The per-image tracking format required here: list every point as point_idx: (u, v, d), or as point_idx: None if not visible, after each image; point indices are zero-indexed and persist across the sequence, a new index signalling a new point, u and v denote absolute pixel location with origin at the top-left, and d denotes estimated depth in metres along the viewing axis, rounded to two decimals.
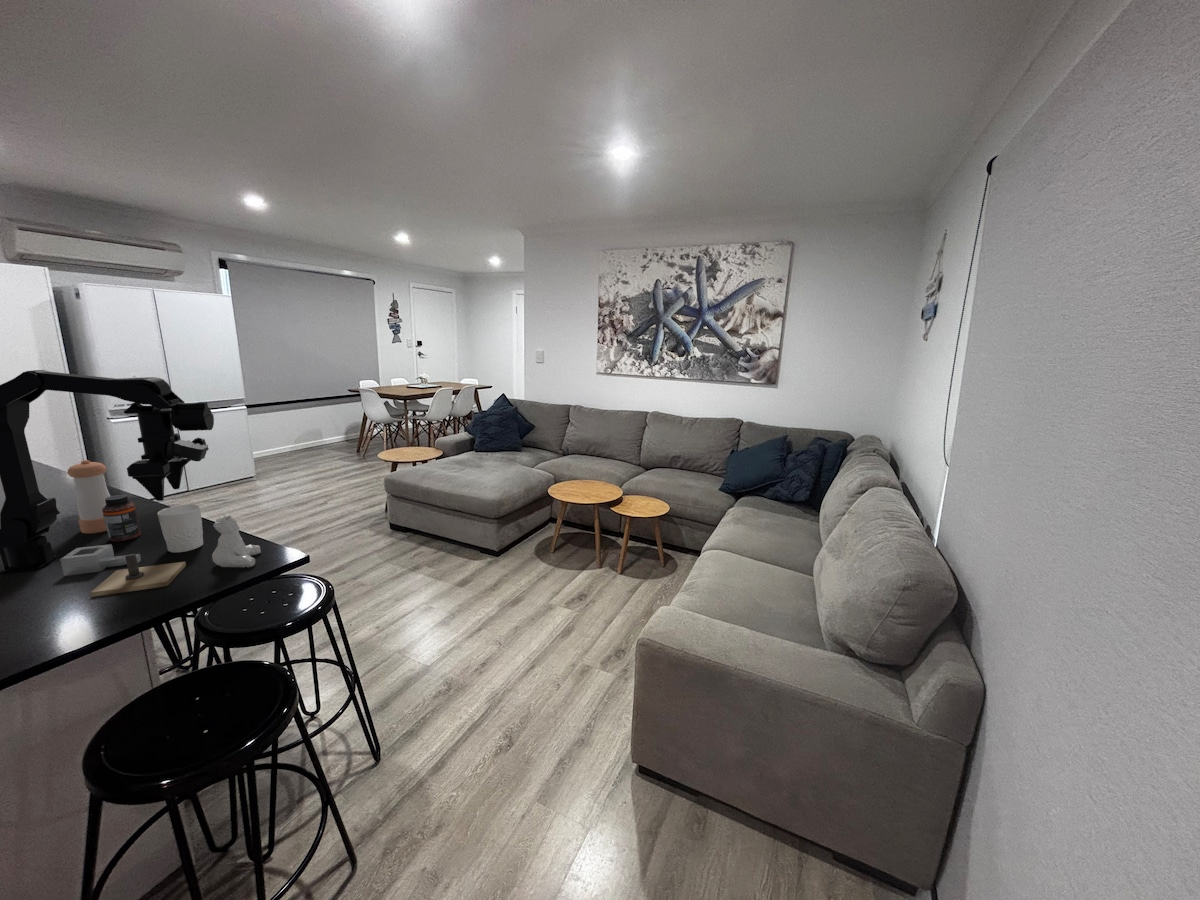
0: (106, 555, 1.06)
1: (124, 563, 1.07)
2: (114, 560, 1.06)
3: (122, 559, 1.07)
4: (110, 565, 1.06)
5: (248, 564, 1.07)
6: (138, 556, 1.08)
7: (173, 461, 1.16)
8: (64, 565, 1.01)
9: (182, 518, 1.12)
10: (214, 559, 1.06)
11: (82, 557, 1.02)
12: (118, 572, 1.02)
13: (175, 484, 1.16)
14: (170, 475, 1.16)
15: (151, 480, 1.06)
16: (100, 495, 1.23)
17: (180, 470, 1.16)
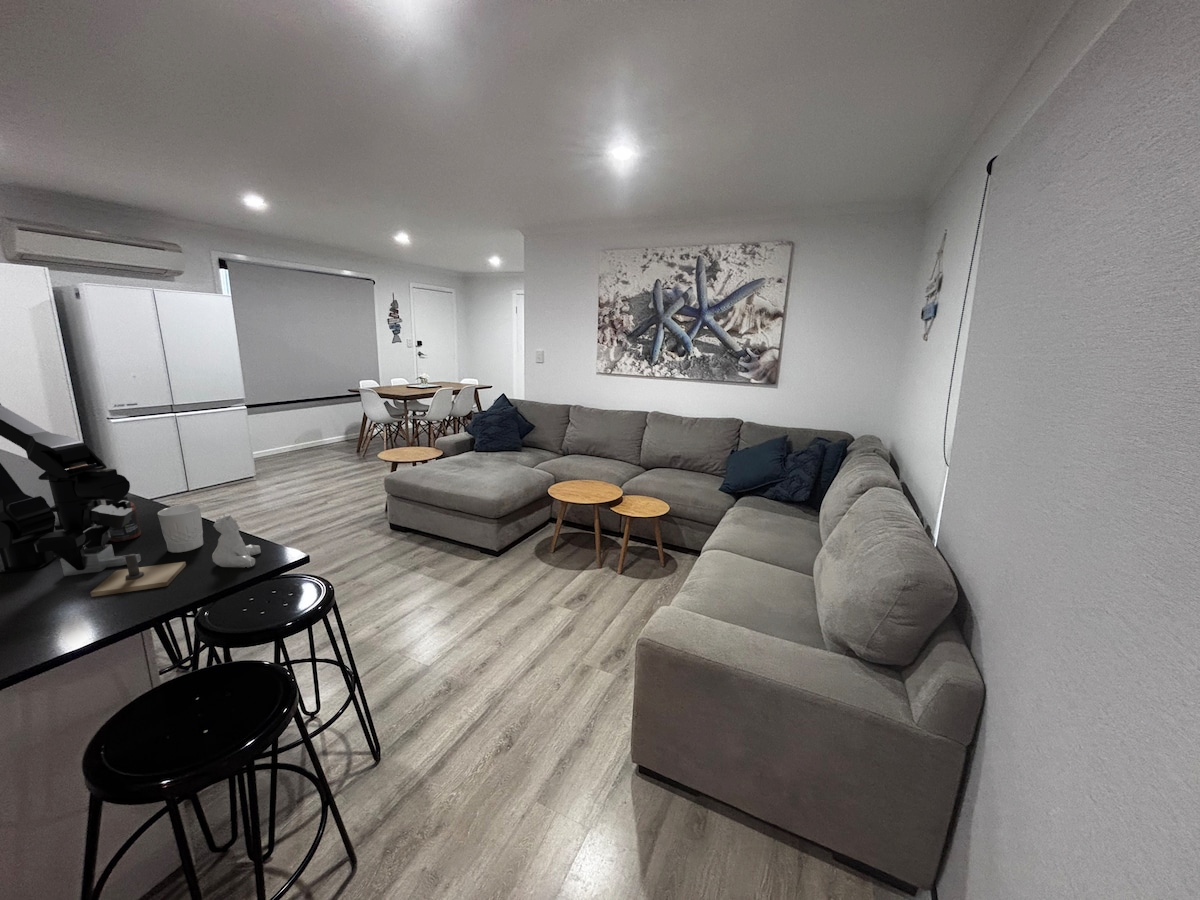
0: (106, 555, 1.06)
1: (124, 563, 1.07)
2: (114, 560, 1.06)
3: (123, 559, 1.07)
4: (110, 565, 1.06)
5: (248, 564, 1.07)
6: (138, 556, 1.08)
7: (93, 528, 1.07)
8: (64, 565, 1.01)
9: (182, 518, 1.12)
10: (214, 559, 1.06)
11: None
12: (118, 572, 1.02)
13: None
14: (89, 543, 1.07)
15: (69, 550, 1.00)
16: None
17: (101, 537, 1.08)
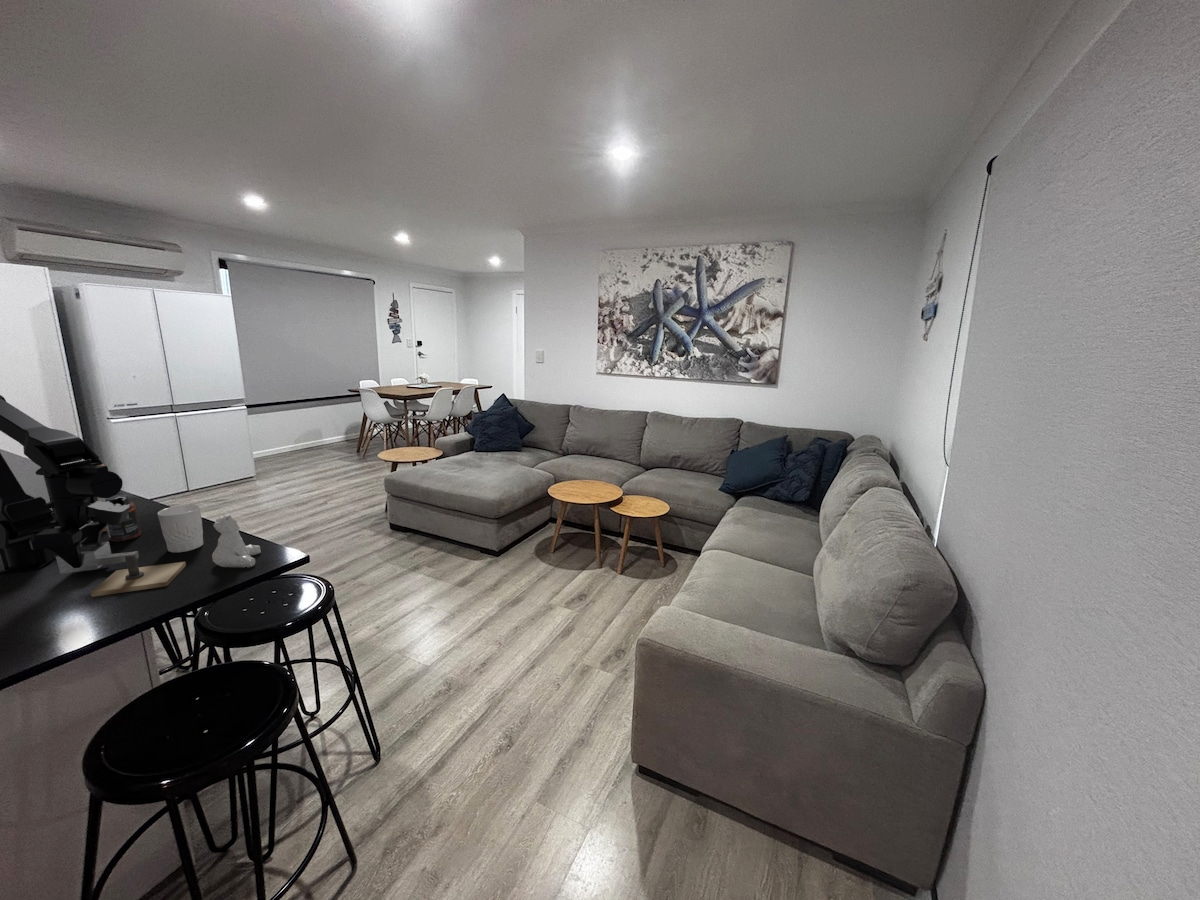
0: (103, 552, 1.04)
1: (121, 560, 1.05)
2: (111, 557, 1.04)
3: (120, 556, 1.05)
4: (107, 563, 1.04)
5: (248, 564, 1.07)
6: (136, 553, 1.06)
7: (89, 525, 1.05)
8: (60, 563, 0.99)
9: (182, 518, 1.12)
10: (214, 559, 1.06)
11: None
12: (118, 572, 1.02)
13: None
14: (86, 541, 1.05)
15: (65, 547, 0.98)
16: None
17: (97, 534, 1.05)
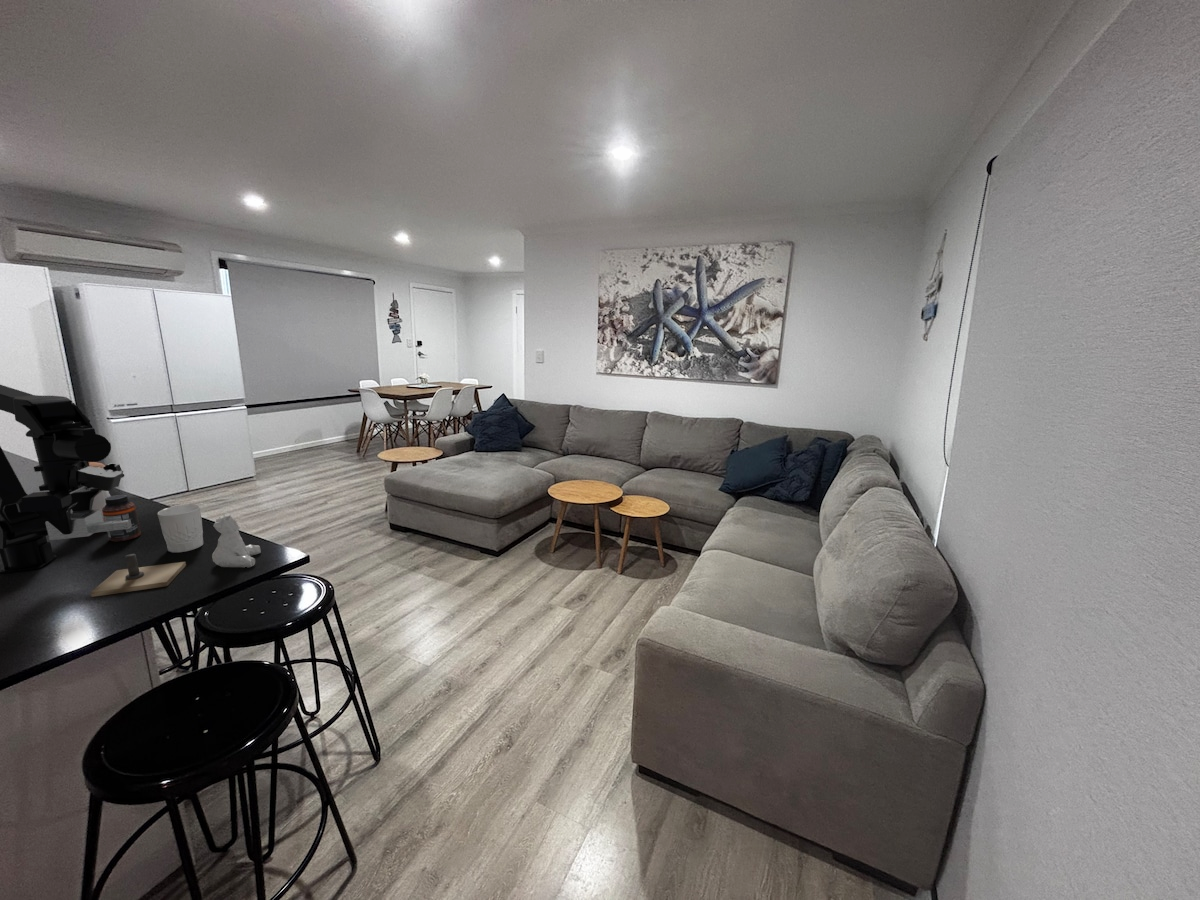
0: (94, 520, 1.01)
1: (114, 528, 1.01)
2: (103, 525, 1.00)
3: (112, 524, 1.01)
4: (99, 530, 1.00)
5: (248, 564, 1.07)
6: (128, 522, 1.03)
7: (80, 492, 1.01)
8: (49, 529, 0.96)
9: (182, 518, 1.12)
10: (214, 559, 1.06)
11: None
12: (118, 572, 1.02)
13: None
14: (77, 508, 1.01)
15: (54, 512, 0.94)
16: (100, 495, 1.23)
17: (89, 502, 1.02)
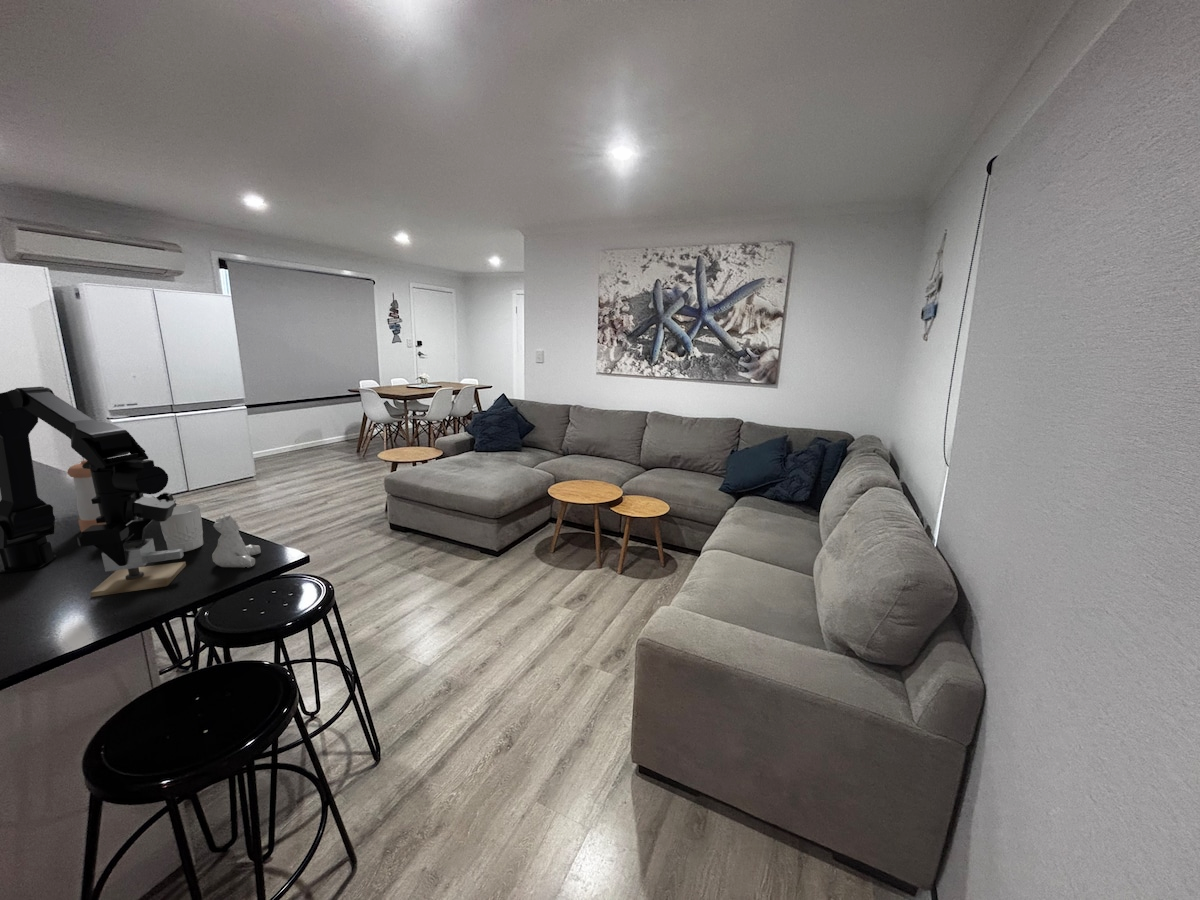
0: (148, 550, 1.00)
1: (167, 558, 1.01)
2: (156, 555, 1.00)
3: (165, 554, 1.01)
4: (152, 560, 1.00)
5: (248, 564, 1.07)
6: (181, 551, 1.02)
7: (133, 521, 1.01)
8: (105, 560, 0.95)
9: (182, 518, 1.12)
10: (214, 559, 1.06)
11: None
12: (118, 572, 1.02)
13: None
14: (130, 537, 1.01)
15: (111, 544, 0.94)
16: None
17: (142, 531, 1.02)
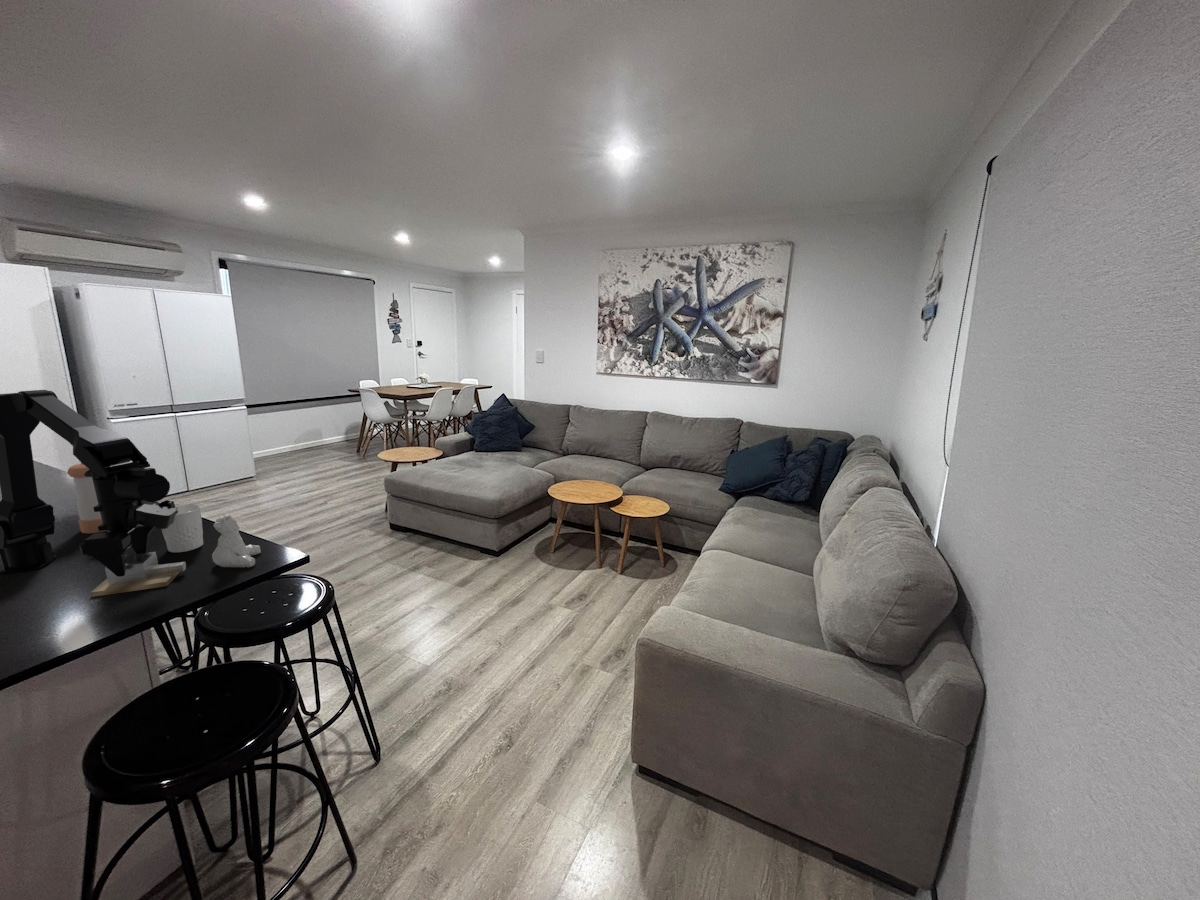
0: (151, 563, 1.01)
1: (169, 572, 1.02)
2: (159, 569, 1.01)
3: (168, 567, 1.01)
4: (155, 574, 1.01)
5: (248, 564, 1.07)
6: (183, 564, 1.03)
7: (138, 526, 1.03)
8: (109, 574, 0.96)
9: (182, 518, 1.12)
10: (214, 559, 1.06)
11: (127, 566, 0.97)
12: None
13: (141, 552, 1.03)
14: (135, 542, 1.02)
15: (109, 555, 0.93)
16: None
17: (146, 536, 1.03)
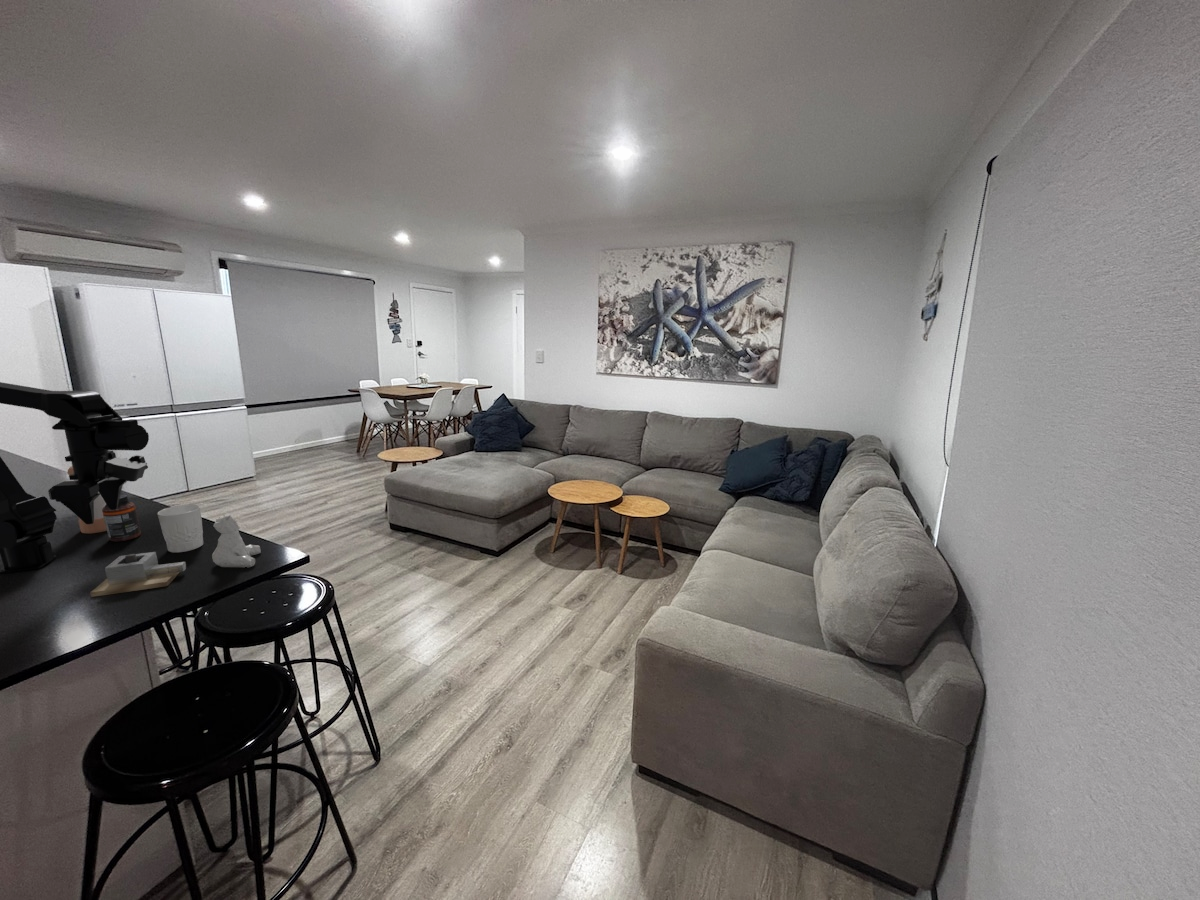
0: (151, 563, 1.01)
1: (169, 572, 1.02)
2: (159, 569, 1.01)
3: (168, 567, 1.01)
4: (155, 574, 1.01)
5: (248, 564, 1.07)
6: (183, 564, 1.03)
7: (110, 480, 1.08)
8: (109, 574, 0.96)
9: (182, 518, 1.12)
10: (214, 559, 1.06)
11: (127, 566, 0.97)
12: None
13: (112, 504, 1.08)
14: (106, 495, 1.08)
15: (78, 502, 0.98)
16: (100, 495, 1.23)
17: (118, 489, 1.09)
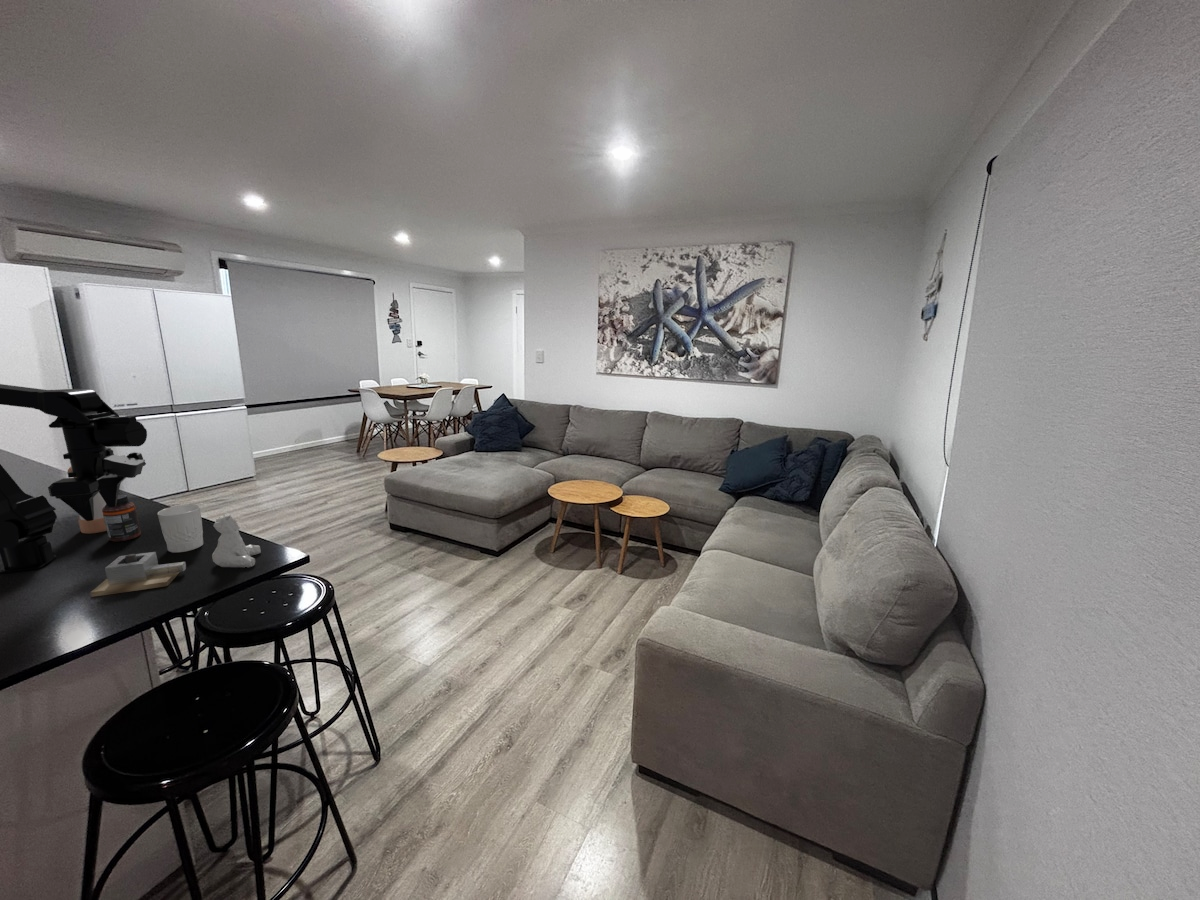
0: (151, 563, 1.01)
1: (169, 572, 1.02)
2: (159, 569, 1.01)
3: (168, 567, 1.01)
4: (155, 574, 1.01)
5: (248, 564, 1.07)
6: (183, 564, 1.03)
7: (108, 477, 1.09)
8: (109, 574, 0.96)
9: (182, 518, 1.12)
10: (214, 559, 1.06)
11: (127, 566, 0.97)
12: None
13: (111, 502, 1.09)
14: (105, 492, 1.09)
15: (78, 499, 0.99)
16: (100, 495, 1.23)
17: (116, 487, 1.09)
